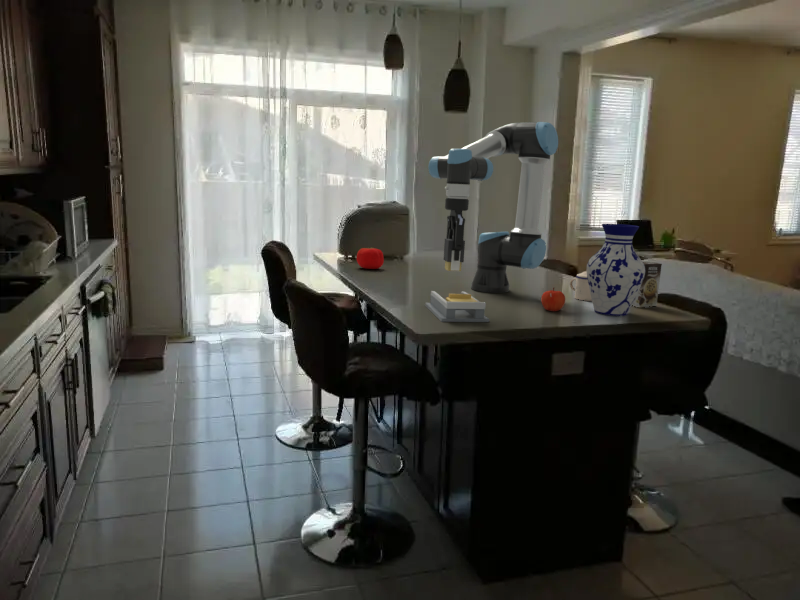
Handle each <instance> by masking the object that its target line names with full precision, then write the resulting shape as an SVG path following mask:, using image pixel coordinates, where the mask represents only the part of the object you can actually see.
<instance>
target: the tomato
mask: <svg viewBox="0 0 800 600" xmlns="http://www.w3.org/2000/svg"><path fill="white" fill-rule="evenodd" d="M384 260H385V258H384V252H383V251H382V250H381V249H380V248H379V249H378V248H374V246H373V247H371V246H370V247H361V248H360V249H359V250H358V251H357V253H356V262H357V264H358V265H359V267H361V268H362V269H366V270H377V269H380V268H381V267H382V266H383V265H384V262H385V261H384Z"/></svg>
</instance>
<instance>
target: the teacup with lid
mask: <svg viewBox="0 0 800 600" xmlns="http://www.w3.org/2000/svg"><path fill="white" fill-rule="evenodd" d="M574 281H575V288H574V286H573V285H574V284H573V282H574ZM569 287H570V290H572V291H573V292H574V299H576V300H578V299H579V301H583V300H584V301H585V302H592V298H591V293H590V289H589V284H588V278H587V269H586V270H585V271H582V272H580V273H577V274H576V276H575V277H574V278H571V279H570V281H569Z"/></svg>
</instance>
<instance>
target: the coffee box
mask: <svg viewBox="0 0 800 600" xmlns="http://www.w3.org/2000/svg"><path fill="white" fill-rule="evenodd" d="M642 262H643V263H644V266H645V276H644V279H643V281H642V284H641V286H640V289H639V291H638V293H637V295H636V297H635V299H634V301H633V304H632V305H633V306H632V307H634V306H636V307H635V308H637V307H645V308H650V307H649V306H656V307H657V304H658V296H659V288H660V280H661V273H662V265H663V264H662V263H660V262H652V261H651V262H650V261H642Z"/></svg>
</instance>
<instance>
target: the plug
mask: <svg viewBox="0 0 800 600" xmlns="http://www.w3.org/2000/svg"><path fill="white" fill-rule="evenodd" d="M443 243H444V245H443V246H444V247H443V261H444V262H445V263H444V270H446V271H448V272H452V271H451V257H452V250H451V248H453V237H452V239H446V238H444V242H443ZM465 244H466V240H464V239H463V249H461V253H460V268H459V271H458V272H462V265H463V264H462V263H464V262H465V260H464V259H465Z"/></svg>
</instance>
